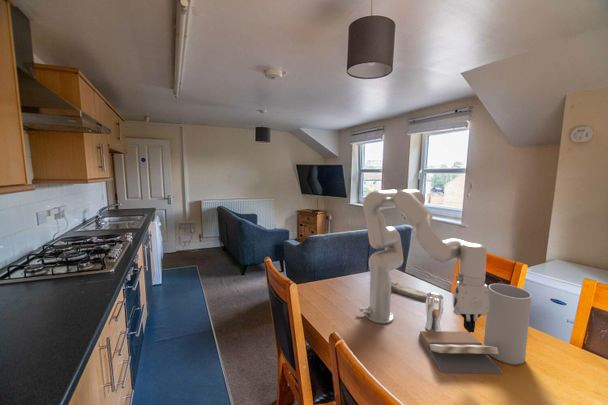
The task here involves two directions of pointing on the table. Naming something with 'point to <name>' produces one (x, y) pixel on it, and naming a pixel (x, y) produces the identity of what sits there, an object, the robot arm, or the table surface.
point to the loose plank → (464, 349)
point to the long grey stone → (408, 291)
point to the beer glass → (434, 311)
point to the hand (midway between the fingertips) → (468, 330)
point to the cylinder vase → (508, 322)
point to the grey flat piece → (458, 360)
